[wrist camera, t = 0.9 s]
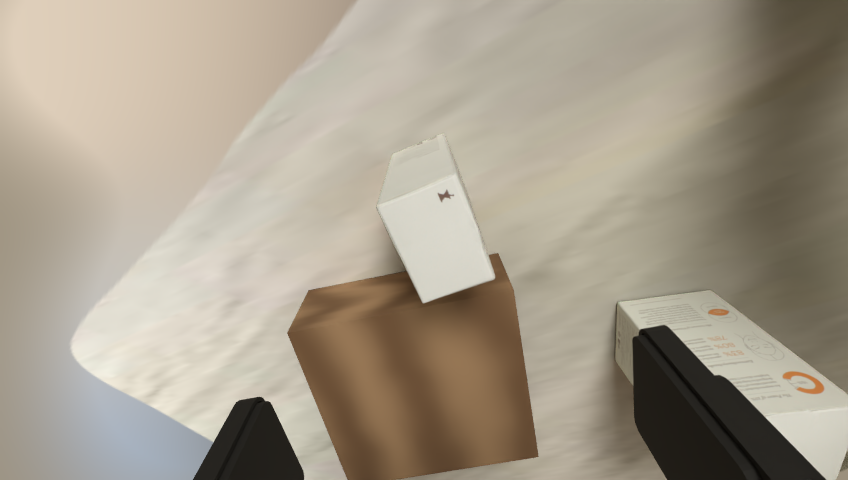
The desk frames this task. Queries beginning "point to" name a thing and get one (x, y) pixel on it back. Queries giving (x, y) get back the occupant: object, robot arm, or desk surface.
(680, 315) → the small box
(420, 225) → the skincare box
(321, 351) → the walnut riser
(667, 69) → the desk surface
